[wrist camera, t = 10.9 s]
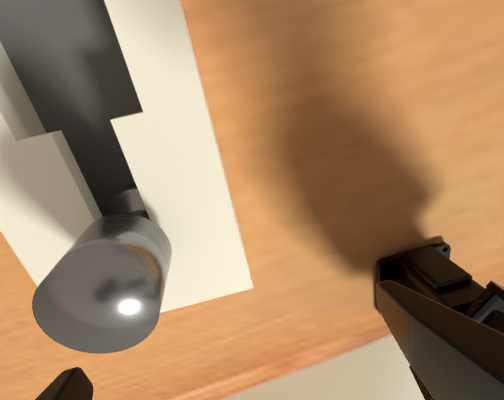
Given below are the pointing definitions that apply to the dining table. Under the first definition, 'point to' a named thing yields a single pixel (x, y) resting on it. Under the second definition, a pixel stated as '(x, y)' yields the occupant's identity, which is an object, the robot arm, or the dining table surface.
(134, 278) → the keyhole peg
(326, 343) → the dining table surface
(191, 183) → the keyhole board
